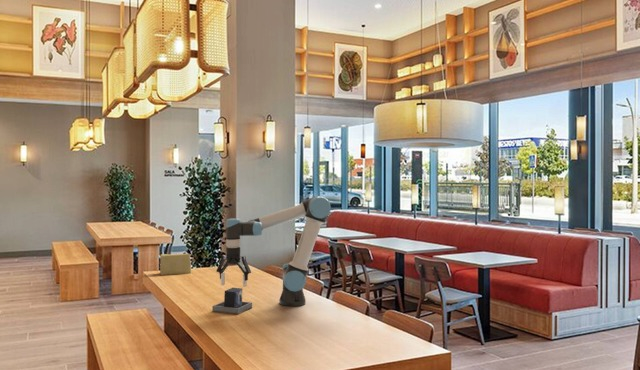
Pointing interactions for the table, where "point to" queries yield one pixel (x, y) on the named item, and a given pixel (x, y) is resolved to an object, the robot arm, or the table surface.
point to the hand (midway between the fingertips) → (233, 285)
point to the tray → (223, 309)
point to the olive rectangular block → (175, 264)
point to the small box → (233, 298)
